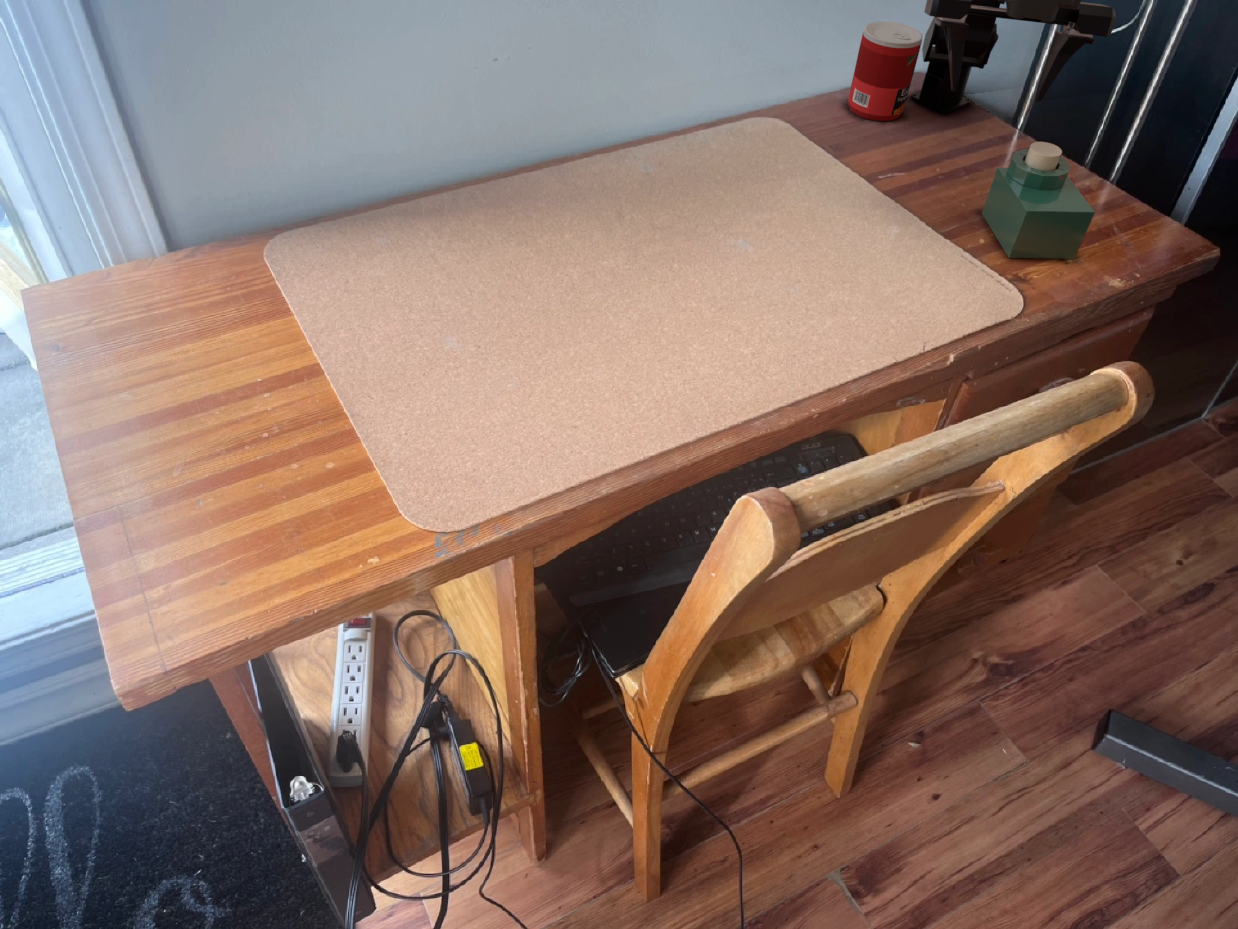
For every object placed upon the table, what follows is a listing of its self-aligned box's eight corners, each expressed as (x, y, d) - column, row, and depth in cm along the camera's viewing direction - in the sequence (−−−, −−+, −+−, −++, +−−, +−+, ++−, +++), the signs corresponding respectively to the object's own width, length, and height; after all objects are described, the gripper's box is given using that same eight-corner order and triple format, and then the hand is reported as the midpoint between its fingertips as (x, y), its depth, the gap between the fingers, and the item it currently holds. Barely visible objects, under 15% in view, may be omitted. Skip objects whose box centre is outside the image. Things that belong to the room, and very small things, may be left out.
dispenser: (978, 208, 122) (998, 147, 117) (1040, 209, 123) (1063, 149, 117) (1008, 258, 114) (1032, 196, 109) (1074, 259, 115) (1101, 197, 109)
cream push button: (1019, 157, 116) (1025, 141, 115) (1049, 157, 116) (1055, 141, 115) (1030, 172, 114) (1036, 155, 112) (1060, 172, 114) (1067, 156, 113)
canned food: (902, 125, 138) (923, 46, 130) (845, 117, 139) (863, 38, 131) (902, 102, 143) (922, 25, 136) (847, 94, 144) (864, 17, 136)
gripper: (957, -73, 96) (918, 96, 103) (1155, -52, 94) (1100, 118, 102) (942, -73, 105) (907, 81, 113) (1122, -54, 103) (1074, 101, 111)
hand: (995, 95), depth 109 cm, fingers open, 9 cm apart
